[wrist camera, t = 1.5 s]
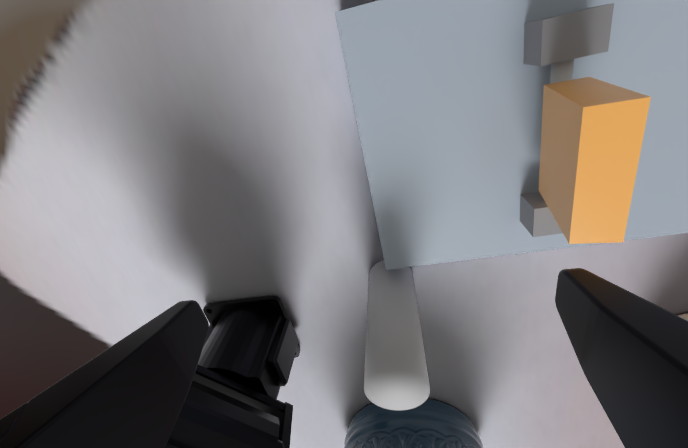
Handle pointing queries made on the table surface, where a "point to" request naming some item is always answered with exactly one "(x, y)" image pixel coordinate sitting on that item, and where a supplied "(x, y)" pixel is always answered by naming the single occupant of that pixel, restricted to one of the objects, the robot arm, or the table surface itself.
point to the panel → (504, 115)
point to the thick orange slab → (590, 156)
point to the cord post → (394, 341)
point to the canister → (412, 428)
